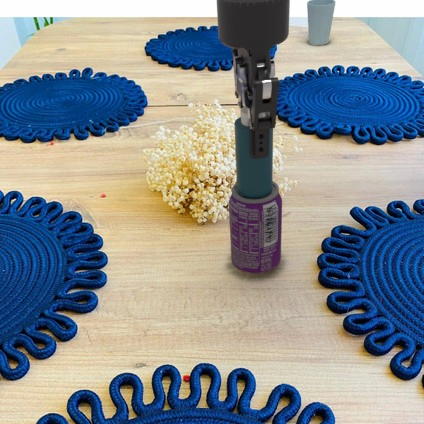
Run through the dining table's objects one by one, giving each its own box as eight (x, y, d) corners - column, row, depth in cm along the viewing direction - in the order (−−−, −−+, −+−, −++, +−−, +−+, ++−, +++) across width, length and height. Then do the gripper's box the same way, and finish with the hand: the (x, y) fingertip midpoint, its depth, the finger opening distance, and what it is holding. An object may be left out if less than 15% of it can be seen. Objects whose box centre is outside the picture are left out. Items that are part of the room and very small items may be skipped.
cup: (307, 47, 149) (309, 6, 142) (303, 39, 155) (304, -1, 148) (334, 45, 149) (337, 4, 142) (328, 37, 155) (332, -3, 148)
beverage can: (282, 248, 79) (284, 176, 71) (278, 279, 74) (280, 204, 66) (235, 246, 80) (232, 174, 72) (228, 276, 75) (223, 202, 67)
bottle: (267, 178, 71) (268, 99, 64) (276, 195, 67) (277, 114, 60) (234, 182, 71) (230, 104, 64) (240, 200, 67) (237, 119, 60)
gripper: (308, 2, 49) (300, 170, 60) (272, -27, 60) (271, 121, 71) (228, 11, 48) (235, 179, 60) (206, -20, 59) (215, 127, 70)
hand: (254, 146), depth 65 cm, fingers open, 4 cm apart
